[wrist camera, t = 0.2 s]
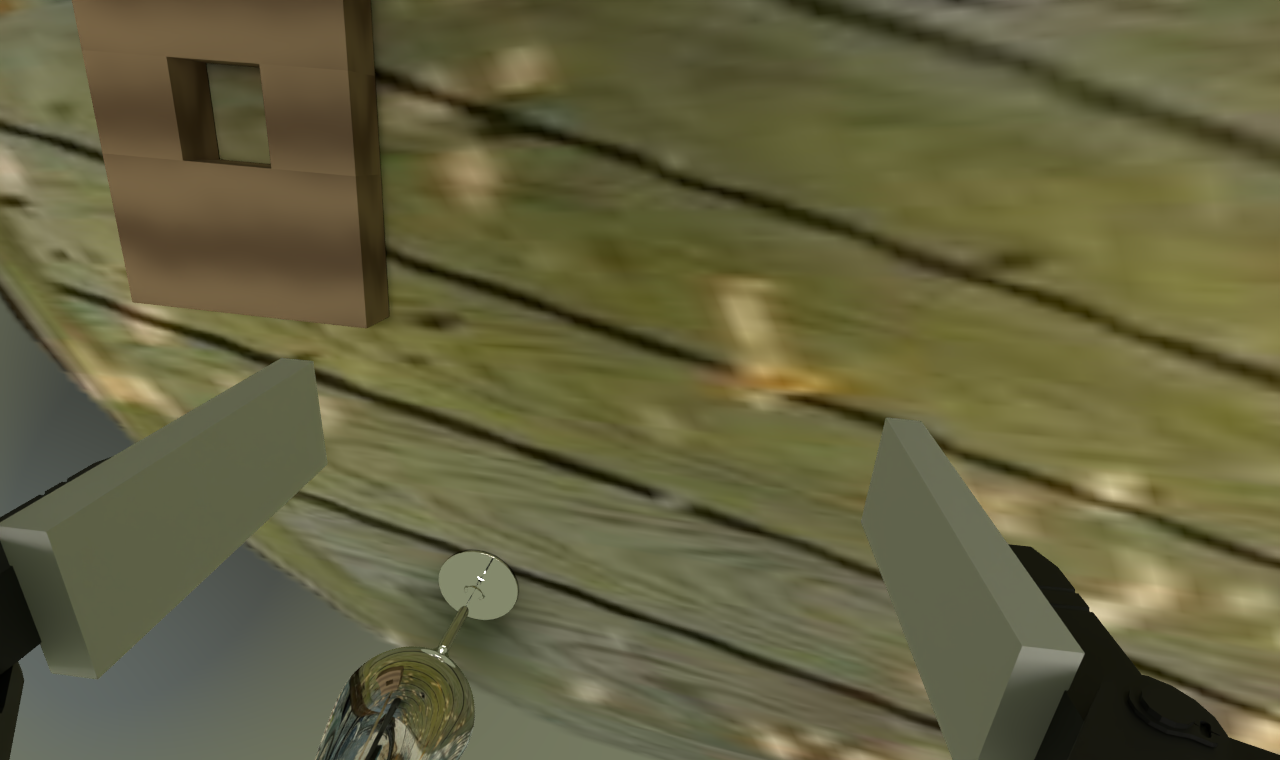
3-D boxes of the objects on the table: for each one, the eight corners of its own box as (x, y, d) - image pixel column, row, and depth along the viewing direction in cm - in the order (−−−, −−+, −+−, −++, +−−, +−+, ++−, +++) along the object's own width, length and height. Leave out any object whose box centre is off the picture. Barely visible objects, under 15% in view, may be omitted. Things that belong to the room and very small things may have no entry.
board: (94, -124, 37) (42, -146, 34) (364, -109, 35) (333, -131, 32) (169, 292, 45) (132, 302, 42) (389, 316, 44) (366, 328, 41)
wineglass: (519, 638, 52) (422, 875, 35) (422, 610, 52) (279, 832, 35) (538, 557, 49) (442, 772, 32) (435, 527, 49) (286, 726, 32)
